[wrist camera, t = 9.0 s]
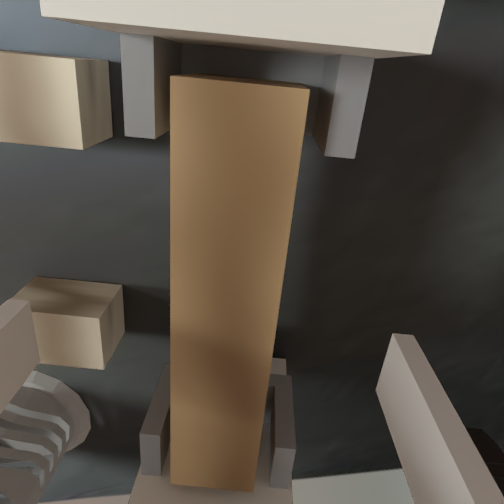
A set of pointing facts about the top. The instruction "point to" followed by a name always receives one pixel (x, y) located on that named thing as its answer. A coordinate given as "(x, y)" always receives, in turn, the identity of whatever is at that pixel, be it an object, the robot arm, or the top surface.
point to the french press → (38, 435)
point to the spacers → (73, 137)
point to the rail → (227, 265)
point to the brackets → (317, 125)
